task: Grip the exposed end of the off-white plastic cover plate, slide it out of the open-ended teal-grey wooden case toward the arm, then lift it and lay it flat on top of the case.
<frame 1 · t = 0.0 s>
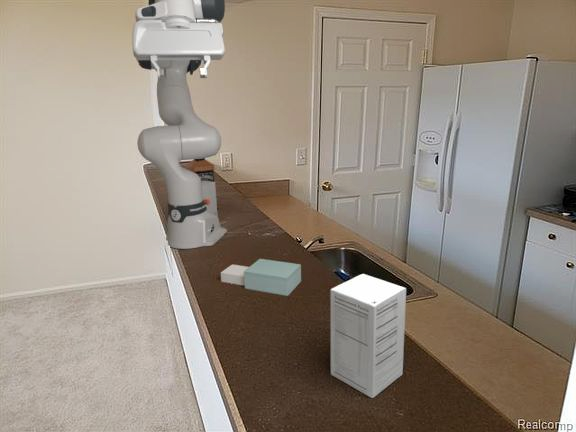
hand: (182, 77, 97), 52 cm above the table, tool tilted 20°, fingers open, 8 cm apart
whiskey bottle: (203, 210, 186), on the table
case: (273, 284, 112), on the table
supplement box: (366, 375, 76), on the table
skincare box: (206, 222, 169), on the table
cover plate: (249, 282, 115), on the table
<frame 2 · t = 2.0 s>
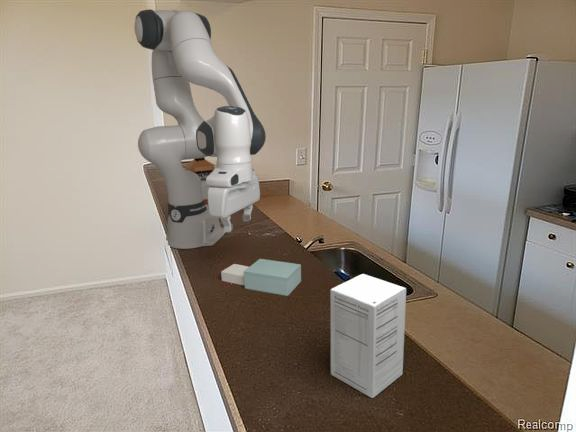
hand: (238, 225, 112), 15 cm above the table, tool pointing down, fingers open, 8 cm apart
nothing on the table moved.
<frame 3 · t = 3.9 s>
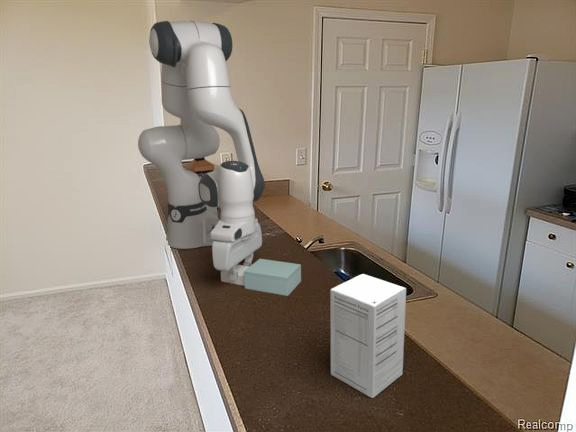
hand: (241, 273, 115), 2 cm above the table, tool pointing down, fingers closed on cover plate, 6 cm apart
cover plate: (249, 282, 115), on the table, touching gripper
everything else where it was.
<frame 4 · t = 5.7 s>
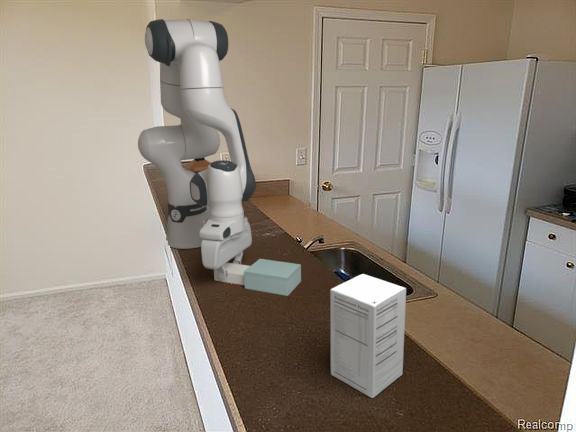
hand: (230, 271, 117), 2 cm above the table, tool pointing down, fingers closed on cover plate, 6 cm apart
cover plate: (242, 279, 116), on the table, touching gripper
everything else where it was.
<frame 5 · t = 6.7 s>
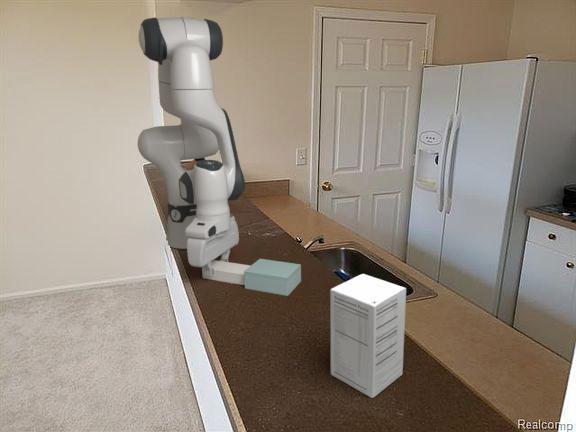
hand: (217, 269, 118), 2 cm above the table, tool pointing down, fingers closed on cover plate, 6 cm apart
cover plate: (230, 277, 117), on the table, touching gripper
everything else where it was.
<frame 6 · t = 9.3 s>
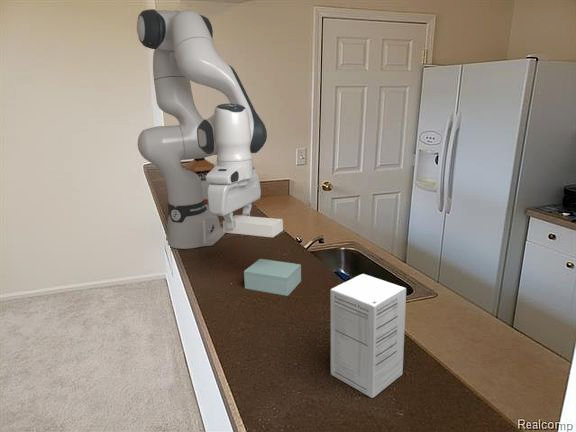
hand: (238, 224, 111), 16 cm above the table, tool pointing down, fingers closed on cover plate, 6 cm apart
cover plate: (253, 231, 110), point 14 cm above the table, touching gripper
everything else where it was.
when the fingers open (7 cm above the table, at t = 12.2 s): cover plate stays where it is, resting on case.
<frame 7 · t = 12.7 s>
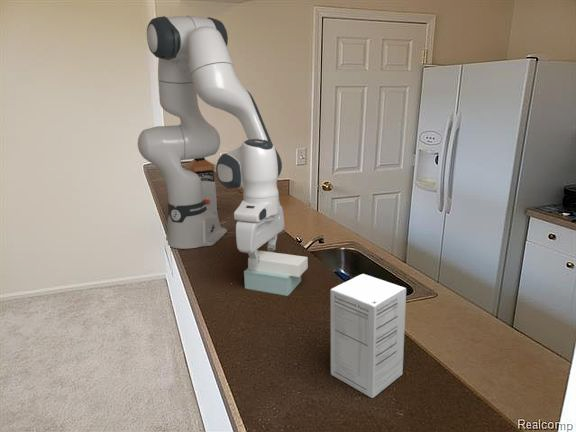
hand: (263, 257, 111), 7 cm above the table, tool pointing down, fingers open, 8 cm apart
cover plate: (278, 268, 110), point 5 cm above the table, touching case
everything else where it was.
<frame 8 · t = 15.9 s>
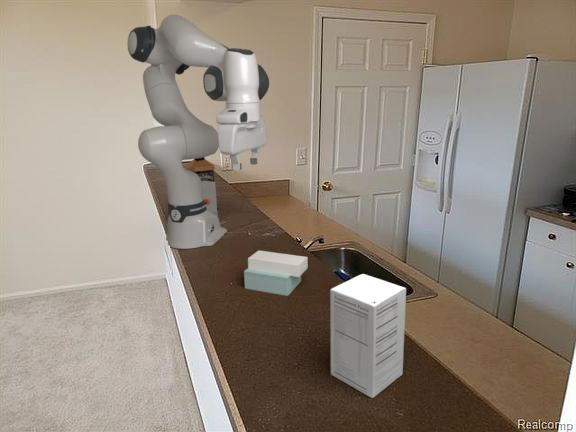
hand: (246, 167, 116), 29 cm above the table, tool pointing down, fingers open, 8 cm apart
nothing on the table moved.
at the end: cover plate 1.5 cm off-centre on the case, point 4.8 cm above the case's base; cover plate tilted 0°; the gripper is holding nothing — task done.
